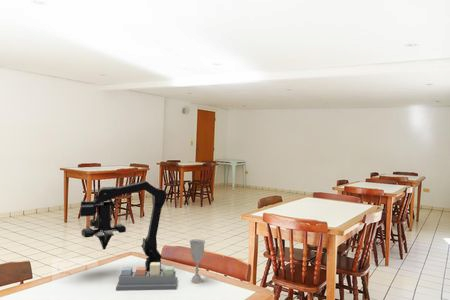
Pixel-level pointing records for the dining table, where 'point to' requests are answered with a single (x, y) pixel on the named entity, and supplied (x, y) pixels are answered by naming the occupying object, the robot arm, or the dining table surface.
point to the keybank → (147, 282)
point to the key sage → (168, 270)
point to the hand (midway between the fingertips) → (103, 249)
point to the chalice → (197, 256)
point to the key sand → (155, 269)
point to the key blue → (126, 271)
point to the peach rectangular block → (141, 271)
